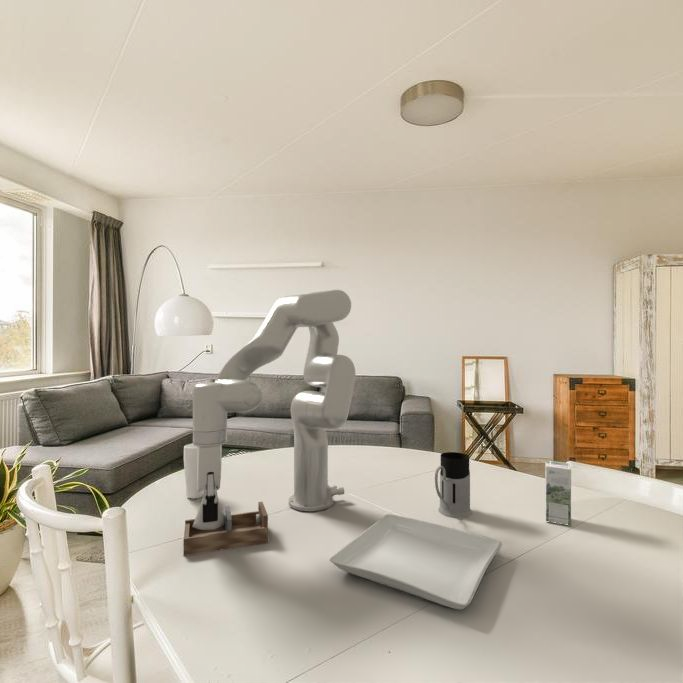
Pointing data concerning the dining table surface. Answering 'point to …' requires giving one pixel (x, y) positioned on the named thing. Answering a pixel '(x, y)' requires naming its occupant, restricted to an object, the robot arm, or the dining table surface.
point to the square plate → (420, 559)
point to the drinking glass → (191, 471)
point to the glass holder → (454, 485)
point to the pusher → (228, 519)
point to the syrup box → (558, 492)
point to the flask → (209, 525)
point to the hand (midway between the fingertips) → (210, 515)
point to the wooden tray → (228, 533)
